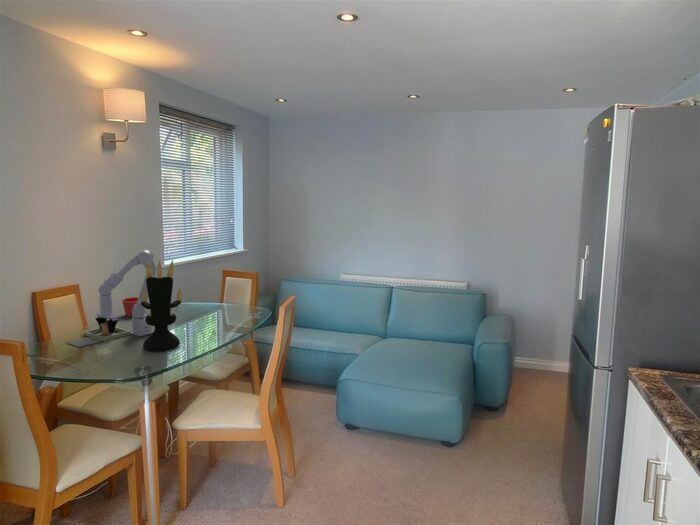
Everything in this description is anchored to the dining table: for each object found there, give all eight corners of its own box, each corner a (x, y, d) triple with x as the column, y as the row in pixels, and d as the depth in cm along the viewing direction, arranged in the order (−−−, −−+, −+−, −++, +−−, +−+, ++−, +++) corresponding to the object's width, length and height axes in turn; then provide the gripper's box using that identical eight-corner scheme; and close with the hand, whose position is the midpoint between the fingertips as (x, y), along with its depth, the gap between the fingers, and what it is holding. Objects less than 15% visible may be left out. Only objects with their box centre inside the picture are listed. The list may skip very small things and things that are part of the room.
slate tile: (101, 342, 240) (101, 341, 240) (79, 347, 231) (79, 346, 231) (88, 337, 246) (88, 337, 245) (66, 343, 236) (66, 342, 236)
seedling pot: (116, 334, 252) (115, 323, 252) (105, 337, 248) (104, 325, 247) (109, 332, 255) (108, 321, 255) (98, 335, 251) (98, 324, 250)
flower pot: (135, 318, 285) (134, 301, 284) (119, 316, 287) (118, 300, 286) (146, 313, 295) (145, 298, 294) (130, 312, 298) (129, 296, 296)
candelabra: (182, 340, 247) (181, 252, 241) (184, 354, 227) (182, 259, 220) (142, 343, 241) (139, 253, 234) (140, 357, 220) (137, 259, 213)
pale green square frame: (130, 334, 253) (130, 330, 253) (103, 341, 241) (103, 337, 240) (111, 328, 262) (111, 325, 262) (83, 335, 249) (83, 331, 249)
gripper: (90, 305, 250) (91, 331, 252) (107, 310, 242) (108, 336, 244) (103, 303, 256) (104, 328, 258) (120, 307, 248) (121, 333, 250)
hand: (107, 331), depth 251 cm, fingers open, 7 cm apart
